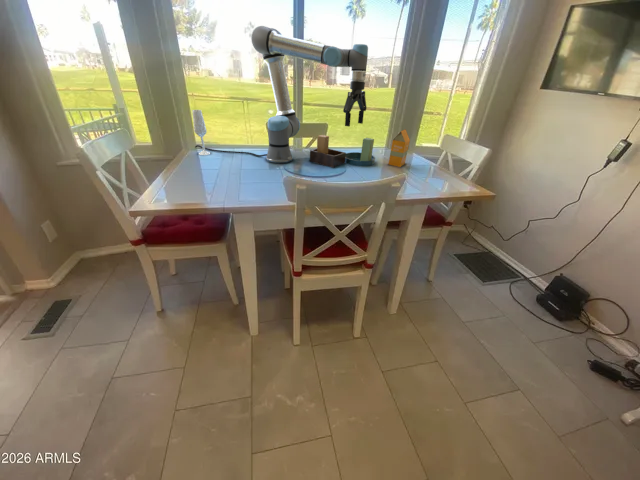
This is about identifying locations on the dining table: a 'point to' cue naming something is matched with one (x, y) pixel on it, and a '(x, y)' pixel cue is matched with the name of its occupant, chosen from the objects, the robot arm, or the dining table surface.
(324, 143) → the packet kraft
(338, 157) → the box
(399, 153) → the orange juice
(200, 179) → the dining table surface
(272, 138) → the robot arm
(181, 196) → the dining table surface
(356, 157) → the bowl
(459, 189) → the dining table surface
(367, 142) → the packet sage
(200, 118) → the champagne flute
